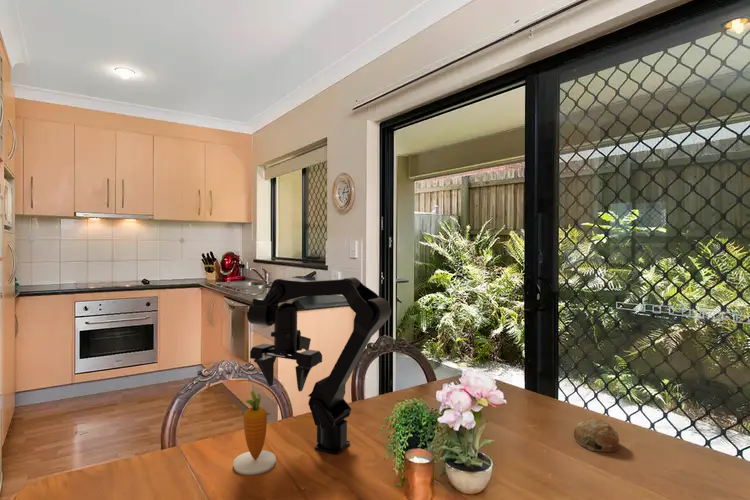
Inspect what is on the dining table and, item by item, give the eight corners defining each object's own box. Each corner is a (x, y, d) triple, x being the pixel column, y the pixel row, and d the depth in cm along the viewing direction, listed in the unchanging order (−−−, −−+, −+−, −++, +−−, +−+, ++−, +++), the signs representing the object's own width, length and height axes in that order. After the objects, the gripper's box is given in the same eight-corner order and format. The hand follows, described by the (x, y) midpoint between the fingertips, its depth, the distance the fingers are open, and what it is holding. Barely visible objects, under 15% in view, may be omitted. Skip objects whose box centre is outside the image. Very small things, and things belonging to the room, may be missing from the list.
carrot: (266, 464, 96) (266, 395, 95) (242, 466, 95) (242, 397, 94) (267, 453, 101) (267, 388, 100) (245, 455, 100) (244, 389, 99)
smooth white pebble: (283, 459, 100) (283, 455, 100) (257, 478, 92) (257, 474, 92) (252, 451, 104) (252, 447, 104) (224, 468, 95) (224, 464, 95)
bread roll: (573, 459, 108) (574, 436, 105) (572, 427, 117) (573, 404, 114) (619, 467, 105) (622, 443, 101) (615, 433, 113) (617, 410, 110)
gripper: (333, 325, 115) (333, 384, 116) (276, 319, 123) (275, 374, 124) (309, 333, 105) (309, 398, 105) (248, 326, 113) (248, 386, 113)
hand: (285, 388), depth 112 cm, fingers open, 9 cm apart
